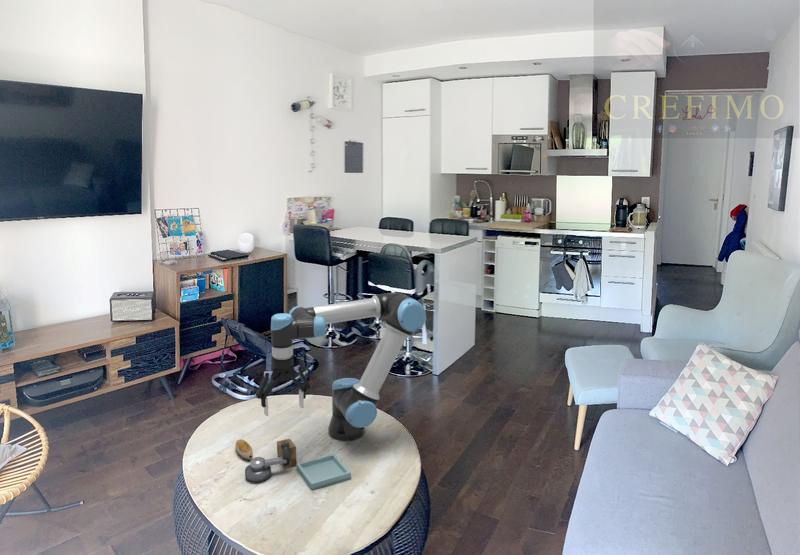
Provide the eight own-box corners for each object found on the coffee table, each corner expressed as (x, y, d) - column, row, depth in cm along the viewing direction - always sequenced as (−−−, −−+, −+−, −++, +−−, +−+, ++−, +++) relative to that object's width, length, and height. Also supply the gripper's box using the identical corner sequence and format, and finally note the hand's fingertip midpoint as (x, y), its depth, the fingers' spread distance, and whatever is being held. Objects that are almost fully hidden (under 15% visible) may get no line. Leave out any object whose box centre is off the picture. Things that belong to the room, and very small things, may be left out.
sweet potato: (243, 464, 210) (242, 453, 209) (232, 447, 222) (232, 437, 221) (256, 460, 213) (256, 450, 212) (245, 444, 224) (245, 434, 224)
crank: (251, 473, 198) (250, 452, 197) (250, 466, 203) (249, 446, 201) (290, 467, 203) (290, 446, 201) (288, 460, 208) (287, 440, 206)
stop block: (290, 457, 215) (289, 438, 214) (296, 466, 209) (296, 446, 208) (277, 460, 213) (276, 441, 211) (283, 469, 207) (283, 449, 205)
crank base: (241, 471, 205) (240, 464, 204) (265, 465, 209) (265, 458, 209) (249, 486, 196) (248, 478, 195) (274, 479, 201) (274, 471, 200)
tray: (333, 459, 214) (333, 453, 214) (351, 478, 202) (350, 472, 201) (296, 469, 207) (296, 463, 206) (311, 490, 194) (311, 484, 194)
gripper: (310, 347, 213) (311, 400, 217) (245, 358, 200) (247, 413, 205) (318, 353, 207) (319, 407, 211) (251, 365, 194) (253, 422, 199)
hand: (284, 410), depth 208 cm, fingers open, 13 cm apart
